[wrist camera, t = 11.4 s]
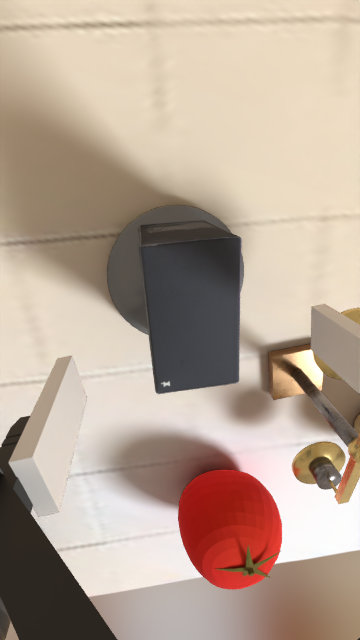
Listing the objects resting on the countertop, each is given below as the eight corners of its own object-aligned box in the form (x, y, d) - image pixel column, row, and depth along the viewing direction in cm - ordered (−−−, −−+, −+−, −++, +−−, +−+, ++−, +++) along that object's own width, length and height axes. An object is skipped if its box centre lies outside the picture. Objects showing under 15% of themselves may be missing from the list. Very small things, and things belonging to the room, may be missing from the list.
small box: (212, 325, 31) (243, 387, 22) (149, 332, 31) (152, 398, 21) (210, 218, 27) (247, 235, 17) (136, 224, 26) (133, 245, 17)
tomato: (178, 521, 45) (190, 621, 35) (170, 454, 40) (181, 550, 29) (259, 508, 46) (293, 601, 36) (262, 440, 40) (304, 528, 30)
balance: (272, 445, 41) (334, 569, 28) (265, 279, 31) (356, 348, 18) (314, 436, 41) (397, 555, 28) (321, 268, 31) (452, 328, 18)
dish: (125, 344, 32) (125, 350, 31) (92, 218, 27) (89, 219, 26) (244, 321, 33) (248, 326, 32) (234, 193, 27) (238, 193, 26)
